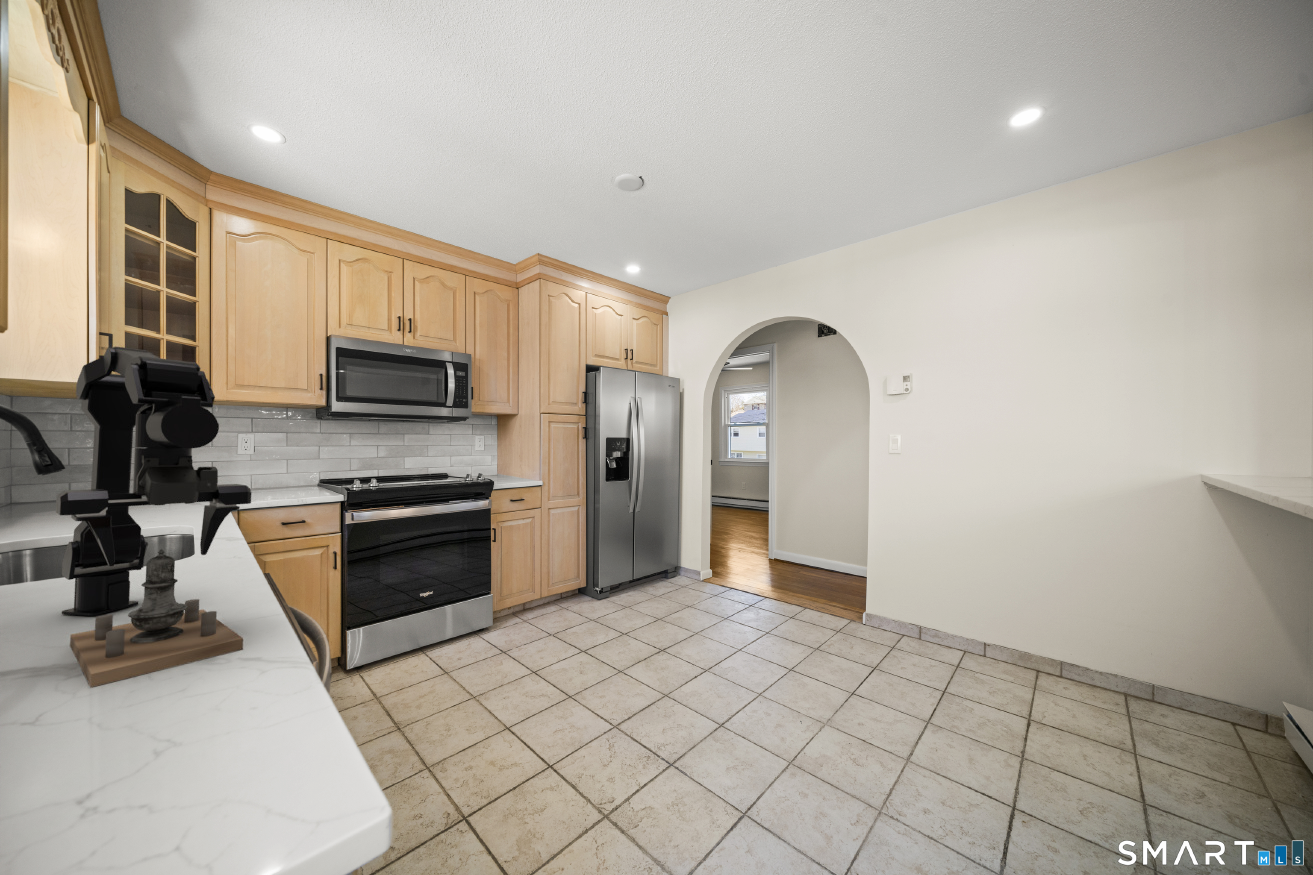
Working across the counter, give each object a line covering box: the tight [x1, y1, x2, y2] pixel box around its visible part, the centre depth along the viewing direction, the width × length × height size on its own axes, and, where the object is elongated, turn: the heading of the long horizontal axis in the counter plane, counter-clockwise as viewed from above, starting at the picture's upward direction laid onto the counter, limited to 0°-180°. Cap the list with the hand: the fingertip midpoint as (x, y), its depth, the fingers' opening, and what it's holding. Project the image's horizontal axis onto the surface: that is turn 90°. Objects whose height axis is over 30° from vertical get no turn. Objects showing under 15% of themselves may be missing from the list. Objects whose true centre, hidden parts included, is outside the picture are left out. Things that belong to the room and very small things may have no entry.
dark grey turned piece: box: [127, 548, 187, 643], centre depth 70 cm, size 6×6×12 cm
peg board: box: [69, 598, 244, 688], centre depth 69 cm, size 20×14×4 cm
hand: (159, 560), depth 69 cm, fingers open, 9 cm apart
